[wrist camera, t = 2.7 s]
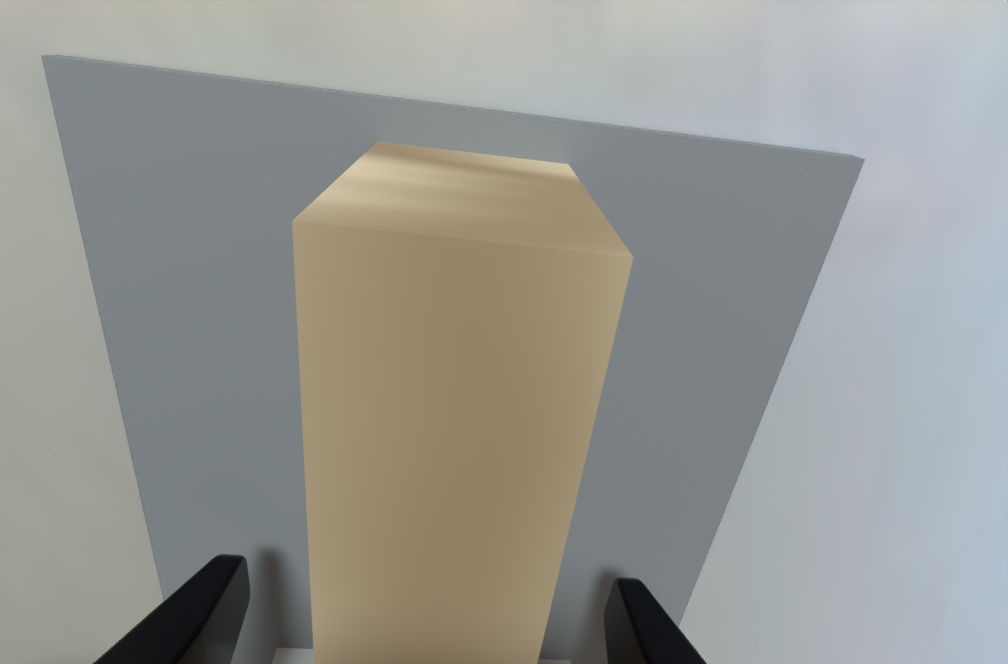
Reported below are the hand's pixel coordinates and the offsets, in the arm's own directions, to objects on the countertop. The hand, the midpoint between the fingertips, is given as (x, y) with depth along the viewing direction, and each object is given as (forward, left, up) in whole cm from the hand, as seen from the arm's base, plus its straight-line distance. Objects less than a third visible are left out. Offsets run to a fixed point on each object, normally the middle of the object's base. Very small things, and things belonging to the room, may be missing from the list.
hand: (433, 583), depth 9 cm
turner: (0, -1, -1) cm, 2 cm away
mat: (0, -1, -1) cm, 2 cm away
